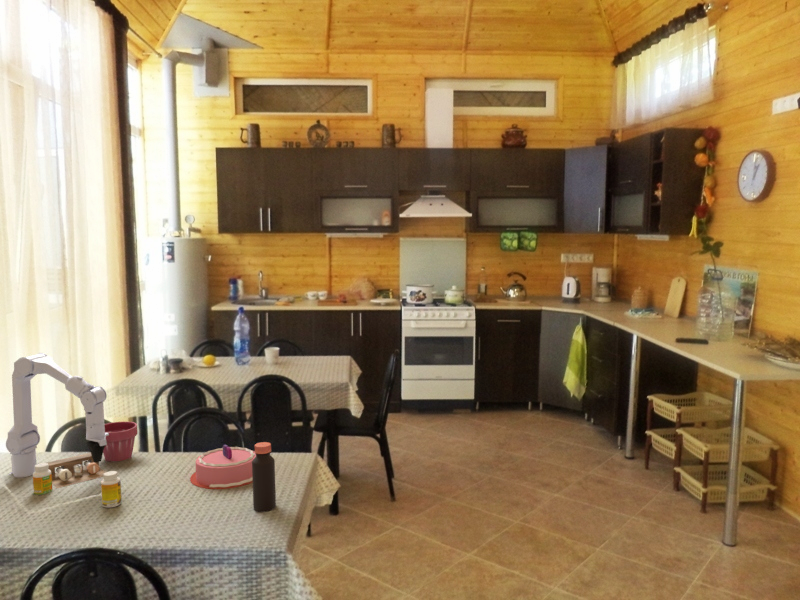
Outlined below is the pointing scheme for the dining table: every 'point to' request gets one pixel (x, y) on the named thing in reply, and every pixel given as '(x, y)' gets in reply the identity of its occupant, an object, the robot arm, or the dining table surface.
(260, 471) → the vinegar
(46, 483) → the supplement bottle
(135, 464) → the dining table surface
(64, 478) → the knob ivory
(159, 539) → the dining table surface
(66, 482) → the mount
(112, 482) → the supplement bottle
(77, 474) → the pot dial
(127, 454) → the plant pot
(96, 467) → the knob terracotta
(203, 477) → the cake
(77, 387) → the robot arm
